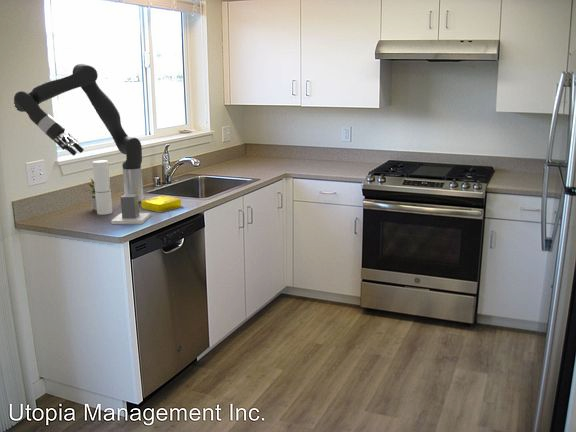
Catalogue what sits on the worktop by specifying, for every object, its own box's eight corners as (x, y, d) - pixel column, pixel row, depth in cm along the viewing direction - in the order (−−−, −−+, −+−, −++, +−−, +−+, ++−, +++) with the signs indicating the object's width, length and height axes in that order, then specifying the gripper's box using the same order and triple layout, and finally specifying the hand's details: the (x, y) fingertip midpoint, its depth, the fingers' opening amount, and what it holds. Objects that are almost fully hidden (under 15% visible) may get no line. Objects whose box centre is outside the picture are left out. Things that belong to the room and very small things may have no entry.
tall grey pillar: (126, 215, 276) (124, 194, 274) (139, 215, 276) (137, 193, 273) (122, 218, 270) (120, 197, 268) (135, 218, 270) (134, 196, 267)
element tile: (159, 213, 287) (159, 203, 286) (140, 208, 296) (139, 199, 295) (183, 207, 298) (182, 197, 297) (163, 203, 308) (163, 194, 306)
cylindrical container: (114, 210, 291) (109, 160, 285) (110, 214, 284) (105, 162, 278) (99, 211, 291) (94, 160, 285) (95, 214, 284) (90, 162, 278)
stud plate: (120, 216, 280) (119, 198, 278) (150, 216, 280) (149, 198, 278) (111, 224, 267) (109, 205, 265) (142, 223, 266) (140, 205, 264)
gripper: (49, 123, 260) (78, 149, 263) (62, 120, 274) (89, 144, 277) (39, 135, 262) (67, 161, 264) (52, 131, 276) (79, 156, 278)
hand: (79, 152), depth 271 cm, fingers open, 8 cm apart
